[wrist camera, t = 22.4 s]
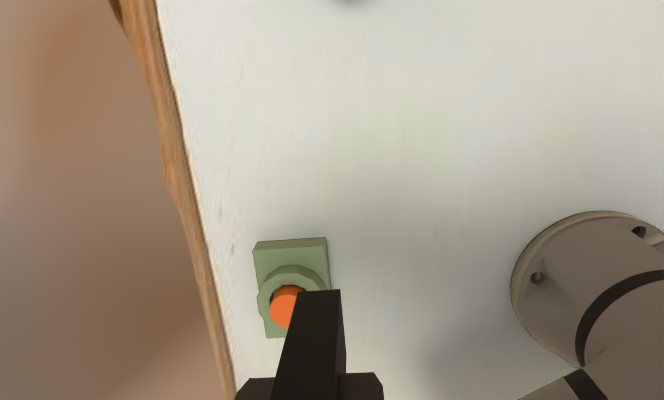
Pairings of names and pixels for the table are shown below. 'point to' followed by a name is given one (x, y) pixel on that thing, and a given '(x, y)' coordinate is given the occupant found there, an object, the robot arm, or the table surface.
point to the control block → (288, 272)
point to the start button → (284, 305)
